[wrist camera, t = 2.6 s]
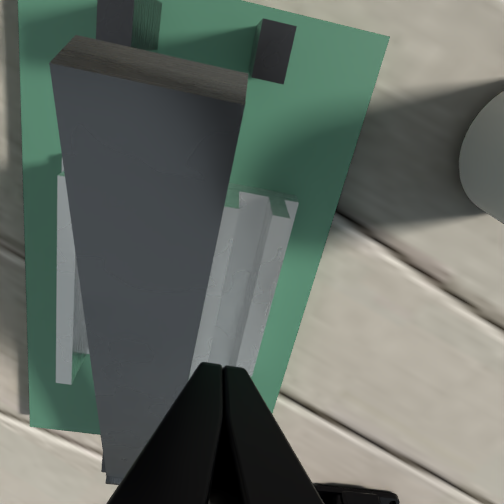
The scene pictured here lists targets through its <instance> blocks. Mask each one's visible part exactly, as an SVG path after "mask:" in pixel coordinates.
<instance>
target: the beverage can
mask: <svg viewBox="0 0 504 504" xmlns="http://www.w3.org/2000/svg"><path fill="white" fill-rule="evenodd" d="M459 173H460V180H461V183H462V186H463V188H464V191H465V193H466V194H467V196H468V197H469V199H470V200H471V201H472V202H473V203H474V204H475V205H476V206H477V207H479V208H480V209H482V210H483V211H485V212H486V213H488V214H489V215H491V216H492V217H494V218H495V219H497V220H498V221H500V222H502V223H503V224H504V91H502V92H501V93H500V94H498V95H497V96H496V97H494V98H493V99H492V100H491V101H490V102H489V103H488V104H487V105H486V106H485V107H484V108H483V109H482V110H481V111H480V112H479V114H478V115H477V116H476V118H475V119H474V121H473V122H472V124H471V125H470V127H469V129H468V131H467V133H466V135H465V138H464V140H463V143H462V146H461V150H460V156H459Z"/></svg>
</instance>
